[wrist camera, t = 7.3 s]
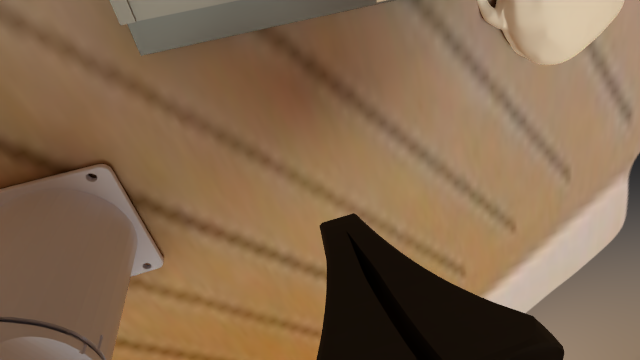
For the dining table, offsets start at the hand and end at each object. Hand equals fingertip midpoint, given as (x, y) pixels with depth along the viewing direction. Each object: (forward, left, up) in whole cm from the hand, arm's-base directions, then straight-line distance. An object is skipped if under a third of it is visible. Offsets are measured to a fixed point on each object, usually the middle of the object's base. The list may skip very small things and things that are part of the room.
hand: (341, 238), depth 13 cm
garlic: (+16, +5, -10) cm, 20 cm away
